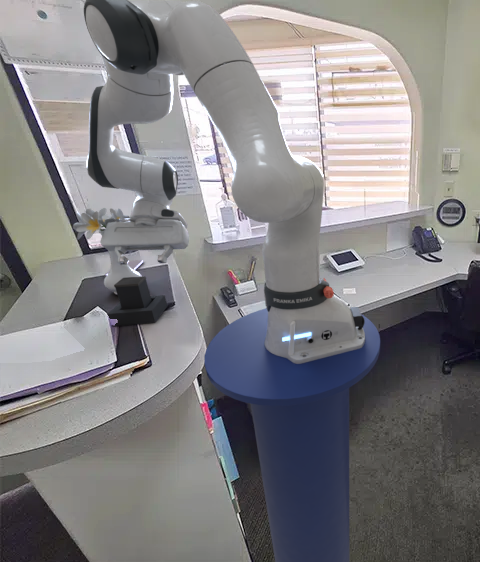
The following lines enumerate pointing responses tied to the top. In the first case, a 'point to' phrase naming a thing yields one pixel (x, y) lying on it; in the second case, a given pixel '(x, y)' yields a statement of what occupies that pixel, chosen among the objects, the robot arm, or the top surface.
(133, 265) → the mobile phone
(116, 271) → the flower vase
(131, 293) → the black tall block
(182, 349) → the top surface
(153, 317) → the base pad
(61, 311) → the top surface
